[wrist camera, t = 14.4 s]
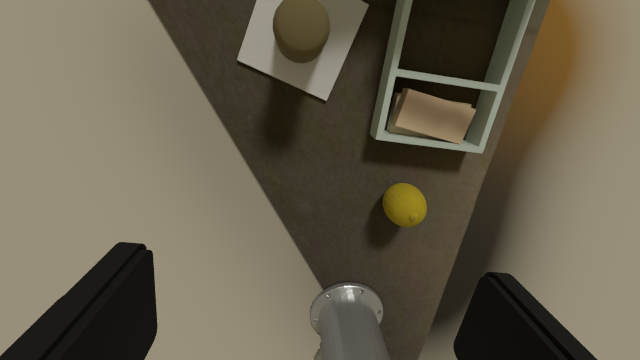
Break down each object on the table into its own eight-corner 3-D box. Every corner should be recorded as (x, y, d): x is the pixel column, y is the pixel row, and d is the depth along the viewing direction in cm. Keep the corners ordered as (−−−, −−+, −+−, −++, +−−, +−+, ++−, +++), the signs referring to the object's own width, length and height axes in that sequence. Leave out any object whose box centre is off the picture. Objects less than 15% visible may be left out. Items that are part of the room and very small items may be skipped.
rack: (468, 146, 43) (528, 175, 32) (369, 133, 41) (395, 159, 30) (522, -18, 36) (624, -56, 24) (405, -42, 34) (457, -94, 23)
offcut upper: (453, 140, 41) (460, 144, 39) (390, 122, 39) (395, 125, 37) (468, 107, 39) (476, 109, 37) (403, 87, 38) (408, 88, 36)
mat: (326, 100, 39) (326, 101, 39) (237, 60, 37) (237, 60, 36) (368, 5, 35) (369, 4, 35) (273, -47, 33) (272, -48, 33)
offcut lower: (452, 137, 43) (460, 141, 41) (385, 128, 42) (389, 132, 40) (463, 102, 41) (471, 104, 39) (393, 92, 40) (398, 93, 38)
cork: (271, 56, 36) (260, 52, 26) (281, 0, 34) (273, -27, 24) (319, 69, 37) (326, 70, 27) (331, 16, 35) (345, -4, 25)
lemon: (371, 184, 44) (386, 209, 36) (406, 169, 43) (429, 190, 36) (383, 214, 46) (400, 243, 38) (417, 200, 45) (441, 227, 38)
